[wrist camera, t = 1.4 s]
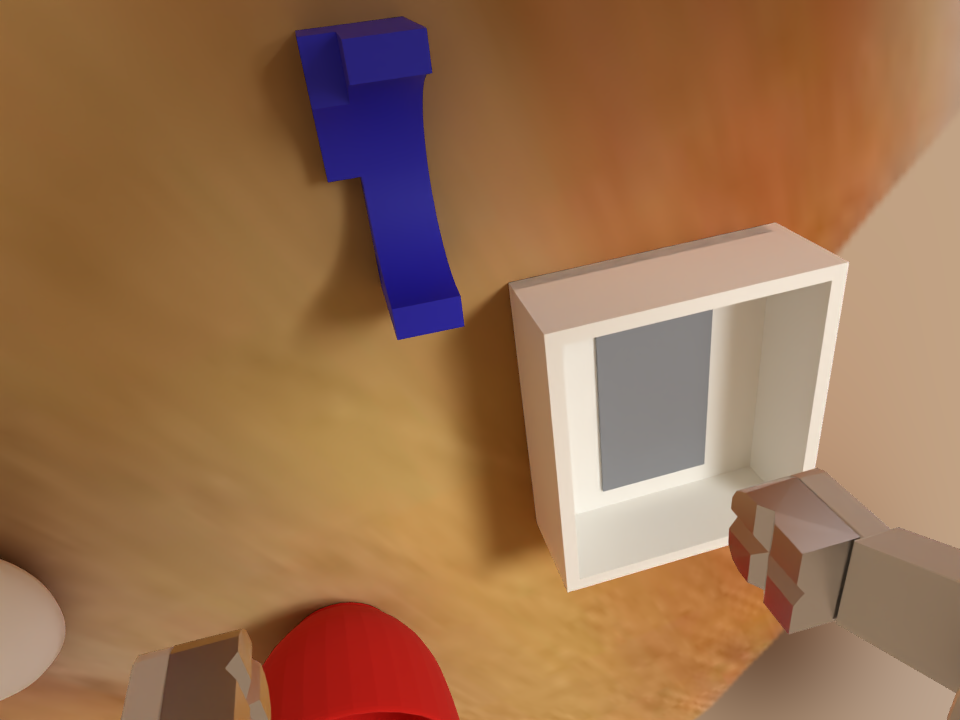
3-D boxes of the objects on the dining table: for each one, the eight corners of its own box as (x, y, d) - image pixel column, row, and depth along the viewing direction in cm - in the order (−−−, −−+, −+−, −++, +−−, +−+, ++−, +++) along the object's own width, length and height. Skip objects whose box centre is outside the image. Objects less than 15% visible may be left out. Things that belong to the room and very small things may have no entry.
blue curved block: (295, 30, 29) (297, 45, 24) (401, 16, 29) (426, 27, 24) (351, 291, 35) (363, 347, 30) (438, 274, 36) (464, 326, 31)
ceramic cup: (381, 737, 53) (399, 883, 45) (197, 657, 44) (176, 820, 36) (507, 639, 51) (551, 773, 43) (339, 535, 42) (353, 677, 34)
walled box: (775, 222, 39) (849, 262, 34) (751, 463, 48) (805, 522, 43) (508, 282, 37) (544, 334, 31) (536, 522, 46) (567, 592, 41)
